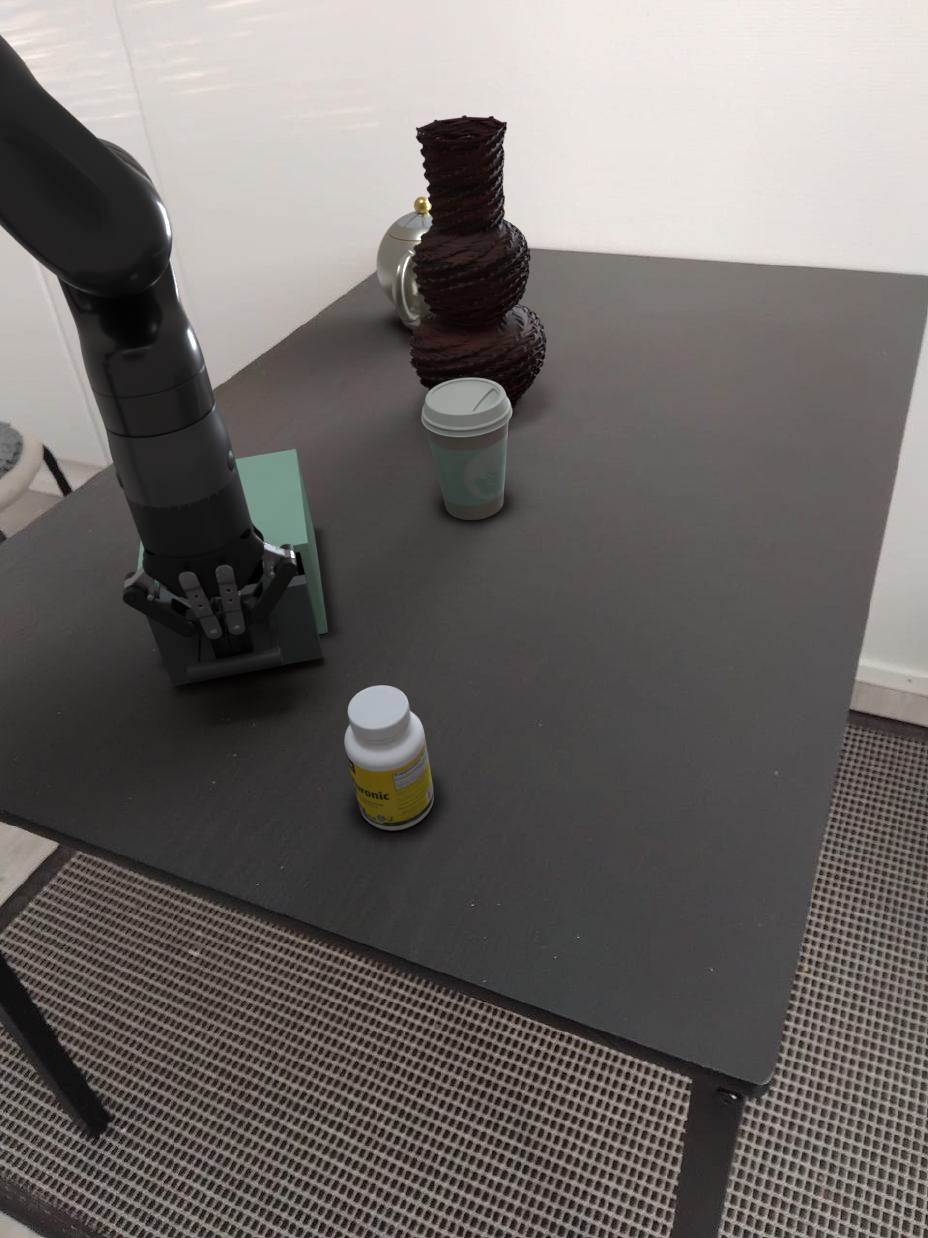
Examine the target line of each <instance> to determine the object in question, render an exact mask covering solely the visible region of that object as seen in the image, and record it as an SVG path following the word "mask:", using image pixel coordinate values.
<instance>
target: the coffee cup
mask: <svg viewBox="0 0 928 1238" xmlns="http://www.w3.org/2000/svg"><path fill="white" fill-rule="evenodd" d="M512 415H513V412H512V408H511V404H510V401H509V399H508V398H507V396H506V393H505V390H504V389H503V387H502V386H501V385H499V384H498V383H496V382H494V381H491V380H487V379H482V378H460V379H454V380H450V381H446V382H444V383H441V384H439V385H437V386H435V387H434V388H432V389H431V390H430V391H429V390H428V392H427V393H426V396H425V398H424V404H423V406H422V408H421V418H420V419H421V423H422V424H423V426H424V428H426V432H427V436H428V440H429V445H430V448H431V453H432V457H433V462H434V466H435V470H436V474H437V478H438V482H439V485H440V490H441V495H442V498H443V503H444V507H445V510H446V511H447V513H448V514H449V515H451V516H452V517H454V518H456V519H459V520H464V521H479V520H484V519H487V518H490V517H492V516H494V515H496V514H497V513H499V512H500V510H501V509H502V507H503V505H504V498H505V497H504V495H505V482H506V465H507V453H508V452H507V451H508V450H507V449H508V434H509V421H510V420H511V418H512Z"/></svg>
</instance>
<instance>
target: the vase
mask: <svg viewBox="0 0 928 1238" xmlns="http://www.w3.org/2000/svg"><path fill="white" fill-rule="evenodd" d="M507 124H508V122H507V121H501V120H500V119H497V118H495V117H494V115H489V116H488V117H481V116H467V115H466V114H464V115H461V117H453V118H446V119H445V118H444V119H439V120H438V119H433V122H430V123H427V124H425V125H422V126H419V127H417V126H416V127H415V130H416V135H415V139H416V140H417V142H418V143H419V144H420V145H422V148H420V149H419V151H420V154H421V156H422V157H423V158H424V161H423V162H422V163H421V165H422V168H423V169H424V170H425V171H424V173H423V176H424V179H425V180H426V181H428V185H427V186H426V191H427V193H428V194H429V196H428V197H427V199H428V202H429V203H430V210H429V214H430V215H431V216H432V218H433V219H432V220H431V222H432V224H433V225H432V226H431V227H430V229H429V230H428V232H426V233H423V234H422V235H421V236H420V238H421V242H420V243H419V244H418V245H415V246H414V247H413V248H414V250H415V255H414V256H413V257H412V261H413V262H415V263H416V264H417V265H416V266H414V268H412V271H413V272H414V273H415V274H416V275H417V278H416V279H415V281H416V283H418V284H420V285H421V287H420V288H418V292H419V294H422V295H423V296H424V297H425V299H424V302H425V303H426V304H429V305H430V309H428V310H429V311H430V312H432V313H429V314H428V315H424V316H423V317H422V318H421V319H420V324H419V326H418V327H416V328H415V329H413V330H412V333H413V335H411V337H409V338H408V345H409V347H411V349H410V351H409V355H410V356H411V358H410V361H409V363H410V365H411V367H412V368H414V369H415V373H416V376H418V377H419V378H420V379H419V380H418V381H419V384H420V385H421V386H423V387H424V388H425V389H426V388H427V389H428V392H429V391H430V390H431V389H432V388H434V387H435V386H437V385H439V384H441V383H444V382H446V381H450V380H454V379H460V378H482V379H487V380H491V381H494V382H496V383H498V384H499V385H501V386H502V387H503V389H504V390H505V393H506V396H507V398H508V399H509V401H510V404H511V408H512V413H513V412H514V409H515V408H516V407H517V404H518V402H519V401H520V400H522V397H523V395H524V394H525V393H527V390H529V389H530V387H531V386H532V385H533V383H534V381H535V379H536V378H537V376H538V375H539V374H540V372H541V370H542V367H543V366H544V364H545V359H546V351H547V346H546V345H547V336H546V333H545V331H544V329H545V327H544V324H543V323H542V320H541V318H540V317H539V316H538V314H537V313H536V312H535V311H533V310H531V309H530V308H529V307H527V306H525V305H521V304H519V303H520V301H521V300H522V299H523V298H524V296H525V293H526V290H527V288H526V286H527V284H528V279H529V277H530V275H529V274H530V263H529V262H530V261H531V258H532V257H531V256H532V255H531V249H530V248H529V245H528V242H527V239H526V236H525V235H524V234H523V232H522V231H521V230H520V229H519V228H518V227H517V226H516V225H515V224H513V223H512V222H510V221H508V220H506V219H505V215H506V214H505V213H506V211H505V203H506V196H505V194H504V193H505V191H504V185H503V184H504V177H505V174H504V167H505V159H506V157H505V156H506V153H505V149H504V146H503V144H504V141H505V137H506V133H507V131H508V130H507V129H508V127H507V126H508V125H507ZM439 228H440V229H439ZM428 317H429V318H428Z"/></svg>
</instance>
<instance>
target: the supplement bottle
mask: <svg viewBox="0 0 928 1238" xmlns="http://www.w3.org/2000/svg"><path fill="white" fill-rule="evenodd" d="M410 709H411V708H410V703H409V700H408V697H407V695H406V694H405V693H404V692H403V691H402V690H400V689H399V688H397V687H395V686H391V685H385V684H383V685H381V684H380V685H372V686H369V687H367V688H364V689H362V690H360V691H358V692H357V693H356V694H355V695H354V696H353V697H352V698H351V700H350V701H349V704H348V706H347V716H348V721H349V725H348V726H347V728H346V730H345V732H344V733H345V734H344V738H343V739H344V740H343V741H344V750H345V755H346V759H347V763H348V767H349V771H350V775H351V779H352V784H353V789H354V792H355V797H356V800H357V801H356V802H357V805H358V808H359V811H360V814H361V816H362V817H363V818H364V819H365V820H366V821H367V822H368V824H370V825H372V826H373V827H375V828H378V829H380V830H385V831H400V830H401V831H402V830H405V829H408V828H411V827H413V826H414V825H417V824H418V823H419V822H421V821H422V820H424V818H425V817H426V816H428V814H429V812H430V811H431V809H432V807H433V805H434V799H435V791H434V785H433V778H432V773H431V765H430V760H429V754H428V753H429V752H428V747H427V741H426V735H425V734H426V733H425V730H424V725H423V724H422V722H421V720H420V718H419V717H418V716H417V715H416V714H415V713H414V712H413V711H411V710H410Z"/></svg>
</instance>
